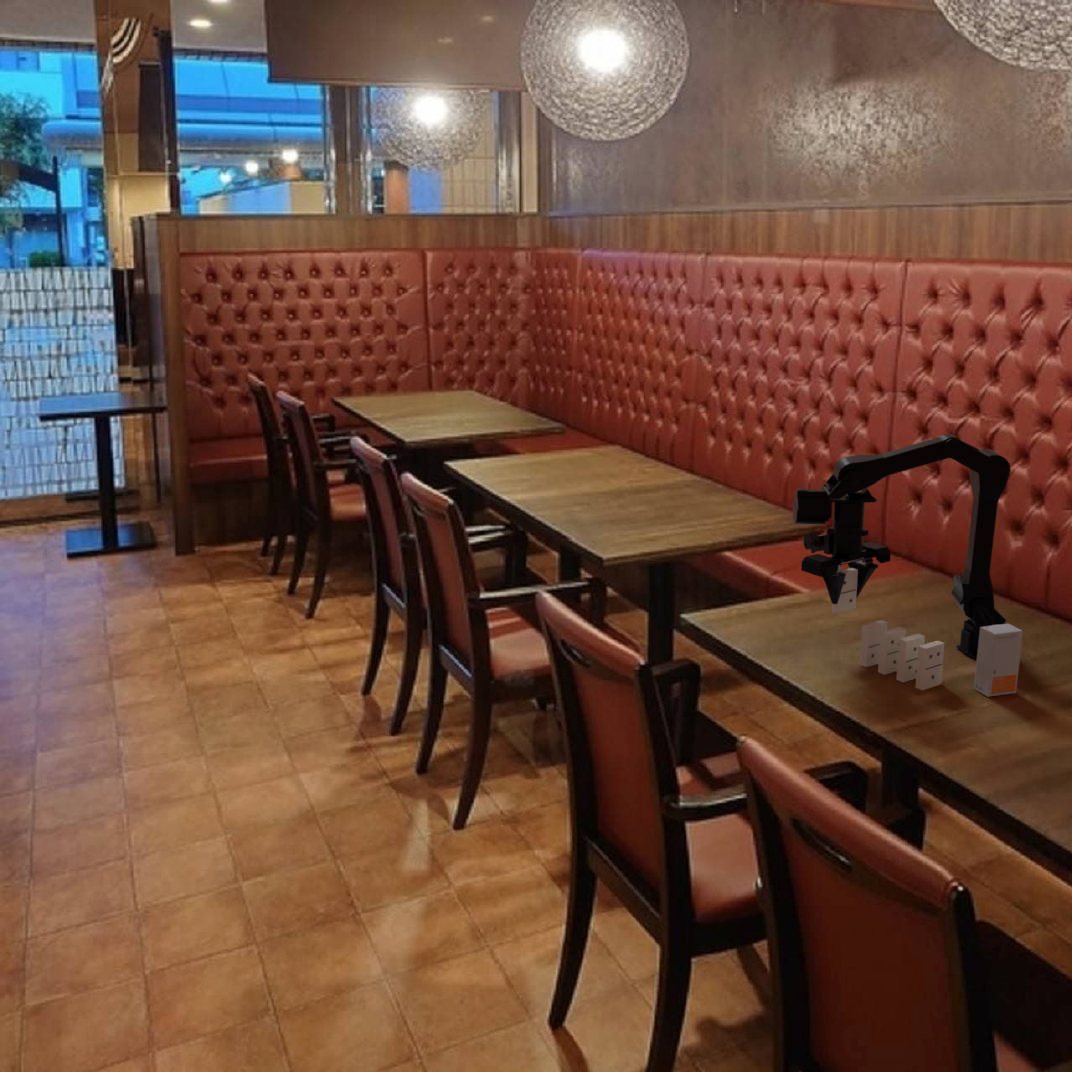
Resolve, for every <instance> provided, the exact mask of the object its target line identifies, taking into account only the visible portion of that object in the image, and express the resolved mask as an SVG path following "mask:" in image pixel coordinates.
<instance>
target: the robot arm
mask: <svg viewBox="0 0 1072 1072" xmlns="http://www.w3.org/2000/svg"><path fill="white" fill-rule="evenodd" d="M946 459H952V460H953V461H955V462H957V463H959V464H961V465H962V466H963V467H966V468H968V474H969V475H968V476H969V482H970V487H971V493H972V497H973V499H972V506H971V515H970V516H971V517H970V527H969V535H968V541H967V542H968V543H967V544H968V545H967V553H966V560H965V567H964V569H963V572H962V574H961V575H958V574H954V575H953V589H952V590H951V592H950V594H951V595H952V596H953V598H954V601H955V604H956V605H957V606H958V607H959V608H960V610H961V611H962V612H963V614H964V615H965V616H966V617H967V618H968V619H967V620H963V628H962V629H961V632H960V633H961V634H960V644H958V645H956V649H957V650H959V651H960V652H962V653H964V654H966V655H968V656H970V657H972V658H973V659H974V660H975V659H976V660H977V653H978V643H979V633H980V627H985V626H991V625H1001V624H1006V621H1007V620H1006V618H1004V616H1003V615H1002V614H1001V613H1000V612H999V610H998V609H997V608H996V607H995V594H994V593H995V592H994V587H993V582H992V577H991V564H992V555H993V548H994V539H995V530H996V522H997V513H998V507H999V506H998V504H999V501H1000V499H1001V496H1002V495H1003V493H1004V492H1005V490H1006V488H1007V485H1008V481H1009V479H1010V475H1011V464H1010V463H1009V461H1008V460H1007V458H1005V457H1004V456H1003V455H1001V454H999V452H996V451H995V450H993V449H990V448H981V449H979V448H977V447H975V446H973V445H972V444H969V443H968V442H965V441H964V440H961V439H960V438H958V437H957V436H955V435H954V434H952V433H943V434H942V435H940V436H938V437H935V438H934V437H933V438H932V439H928V440H924V441H921V442H920V441H919V442H917V443H915V444H914V443H913V444H911V445H908V446H907V445H906V446H904V447H900V448H897V449H894V450H890V451H887V452H883V453H877V454H876V453H875V454H857V455H848V456H843V457H842V458H839V460H837V462H836V464H835V465H834V467H833V472H832V474H831V476H829V477H828V479H827V480H826V481H825V483H823V485H822V486H821V488H818V489H817V488H816V489H815V488H812V489H811V488H810V489H808V488H803V487H799V488H796V489H795V495H794V501H793V503H792V520H793V524H794V525H825V524H826V522H829V521H830V519H831V518H832V526H830V527H828V528H827V529H826V533H825V534H820V535H818V533H817V532H816V531H813V532H808V533H804V534H803V535H804V536H803V546H804V549H805V550H807V551H809V550H810V553H811V555H807V556H804V558H802V559H801V566H800V567H801V569H800V570H801V571H802V572H804V573H808V574H811V575H814V576H817V577H820V578H822V580H823V582H824V583H825V587H826V590H827V593H828V596H829V598H830V602H831V604H832V603H833V604H837V603H838V600H839V598H840V594H841V590H842V587H843V583H844V579H845V576H846V574H845V573H842V572H841V570H842V566H843V565H848V569H849V568H854V569H857V570H858V579H857V595H856V596H857V597H856V600H857V599H858V597H859V595H860V594H861V593H862V591H863V588H864V587H865V586H866V584H867V582H869V579H870V578H871V576H873V575H872V574H874V572H875V570H877V569H879V567H880V566H879V564H885V563H888V562H891V557H892V556H891V553H892V552H891V550H890V549H889V547H888V546H887V545H883V544H880V543H876V542H873V541H868V542H864V537H866V536H869V529H865V528H864V527H865V510H866V503H876V502H877V498H876V496H874V494H872V493H871V492H870V490H869V489H868V488H869V487H872V486H874V485H876V484H877V483H878V482H880V481H881V480H883V479H885V478H887V477H889V476H892V475H895V474H898V473H901V472H905V471H909V470H912V469H916V468H920V467H923V466H927V465H930V464H933V463H936V462H939V461H943V460H944V461H945V460H946ZM832 504H833V505H832ZM832 510H833V511H832ZM832 512H833V516H832ZM817 552H823V554H825V555H823V554H820V553H817ZM815 553H816V554H815ZM827 555H831V556H827ZM874 558H875V560H876V561H877V562H878V564H876V563H874Z"/></svg>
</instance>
